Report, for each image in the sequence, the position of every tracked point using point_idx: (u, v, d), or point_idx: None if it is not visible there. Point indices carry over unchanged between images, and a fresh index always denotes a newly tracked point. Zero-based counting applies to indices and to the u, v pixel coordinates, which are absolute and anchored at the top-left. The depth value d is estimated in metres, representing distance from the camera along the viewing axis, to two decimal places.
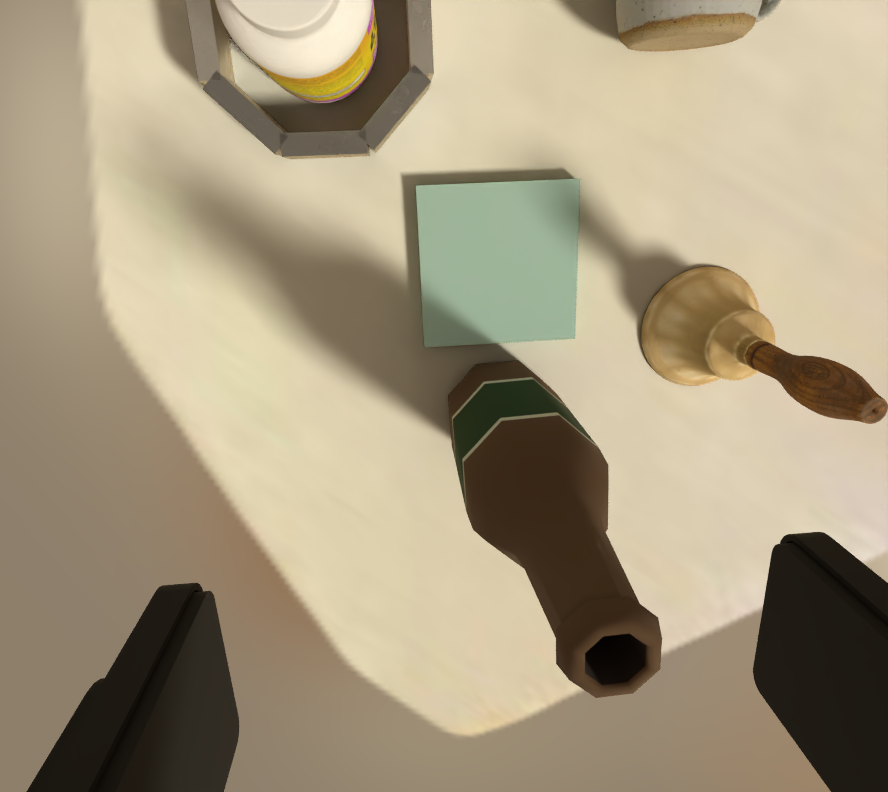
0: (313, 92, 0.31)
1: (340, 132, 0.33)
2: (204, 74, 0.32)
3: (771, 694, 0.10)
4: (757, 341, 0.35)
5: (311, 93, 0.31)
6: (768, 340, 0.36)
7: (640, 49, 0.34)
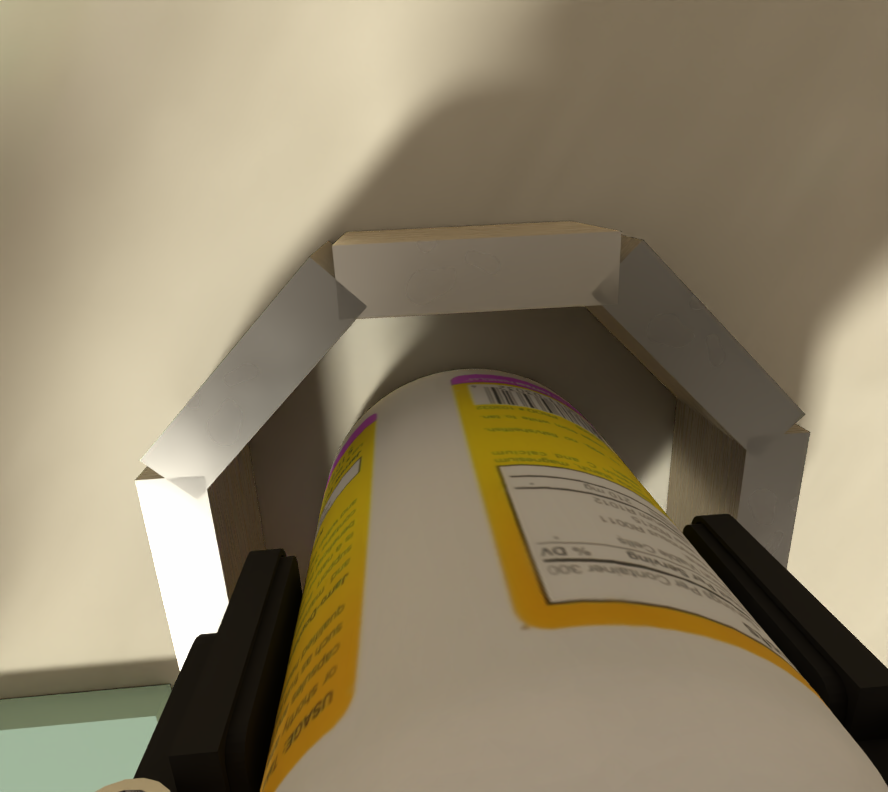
0: None
1: None
2: (352, 268, 0.10)
3: None
4: None
5: None
6: None
7: None
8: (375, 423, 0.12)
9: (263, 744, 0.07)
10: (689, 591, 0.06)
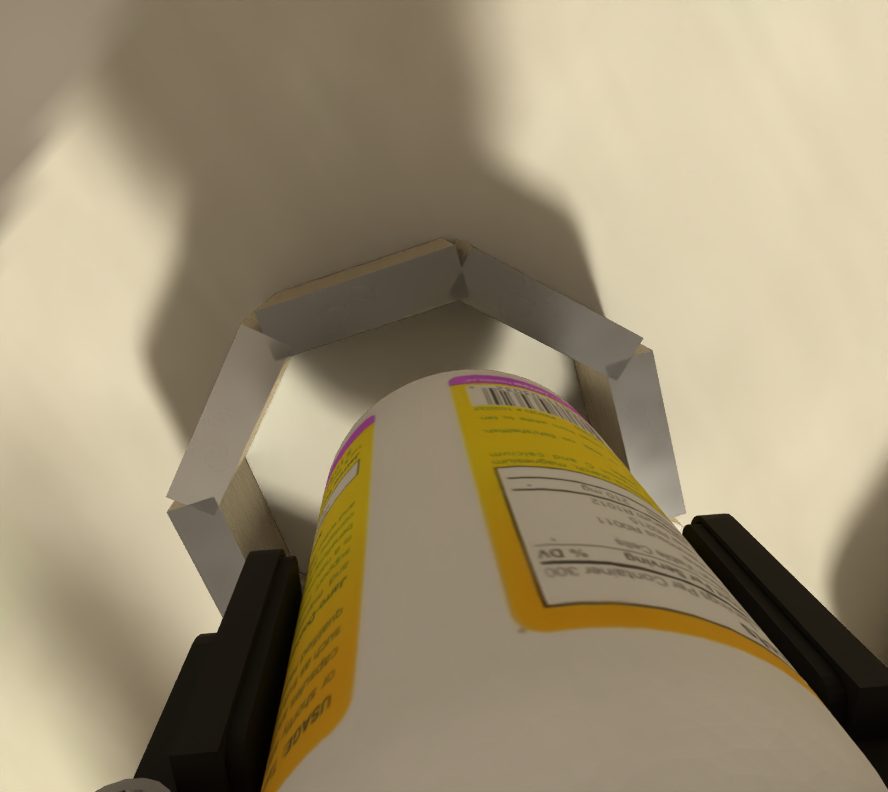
0: None
1: None
2: (185, 492, 0.15)
3: None
4: None
5: None
6: None
7: None
8: (373, 425, 0.12)
9: (263, 744, 0.07)
10: (686, 591, 0.06)
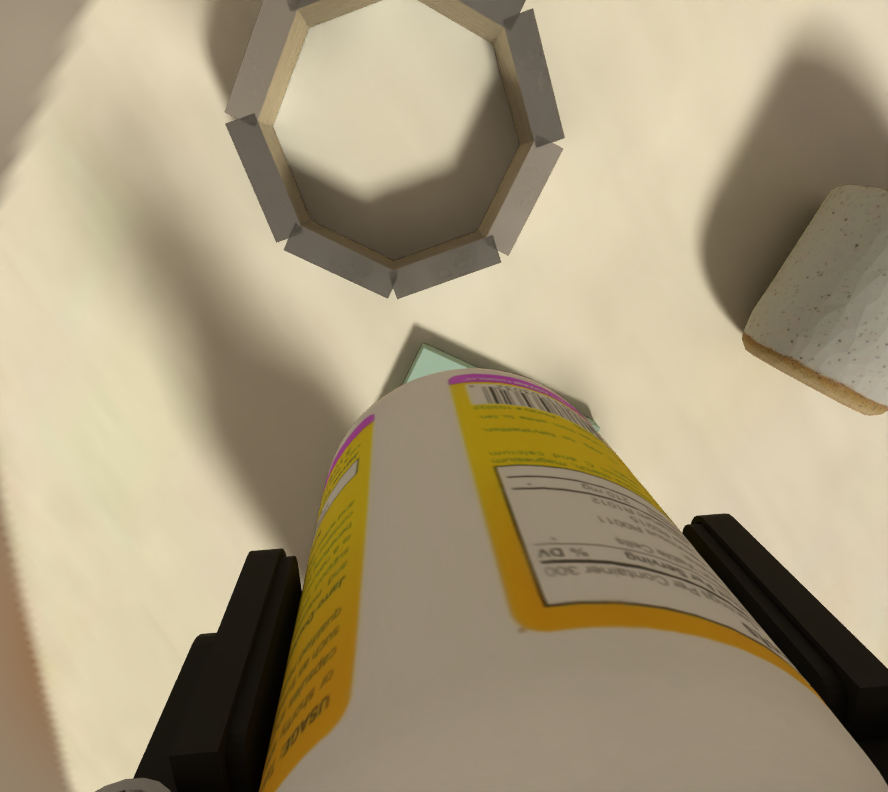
0: None
1: (368, 260, 0.25)
2: (236, 109, 0.23)
3: None
4: None
5: None
6: None
7: None
8: (373, 424, 0.12)
9: (263, 744, 0.07)
10: (687, 590, 0.06)
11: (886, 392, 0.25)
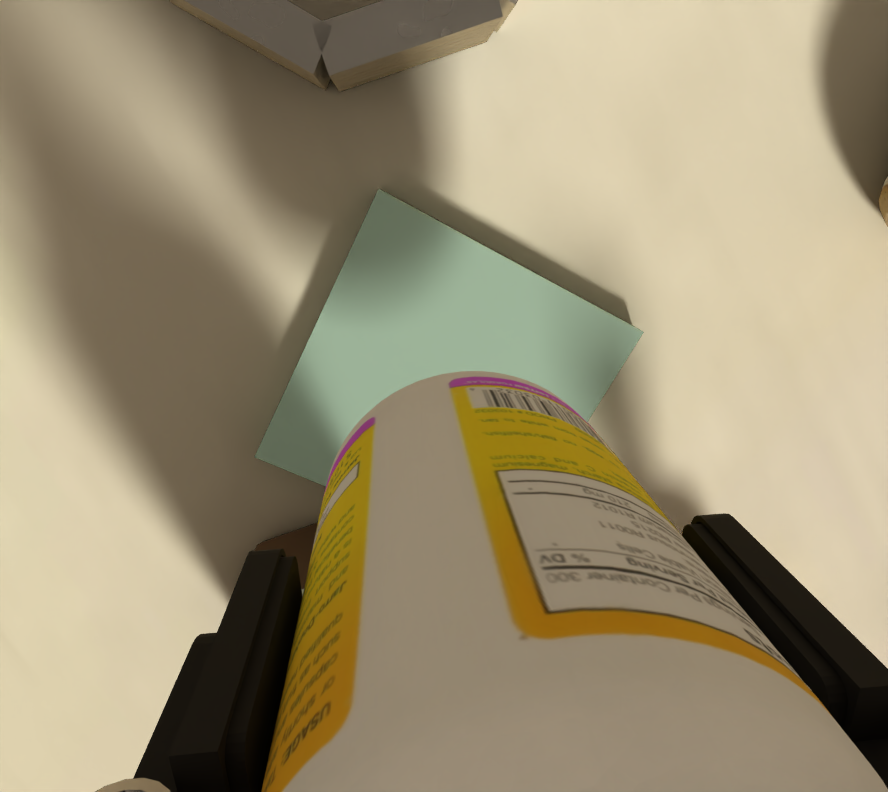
0: None
1: None
2: None
3: None
4: None
5: None
6: None
7: None
8: (373, 427, 0.12)
9: (263, 744, 0.07)
10: (689, 596, 0.06)
11: None
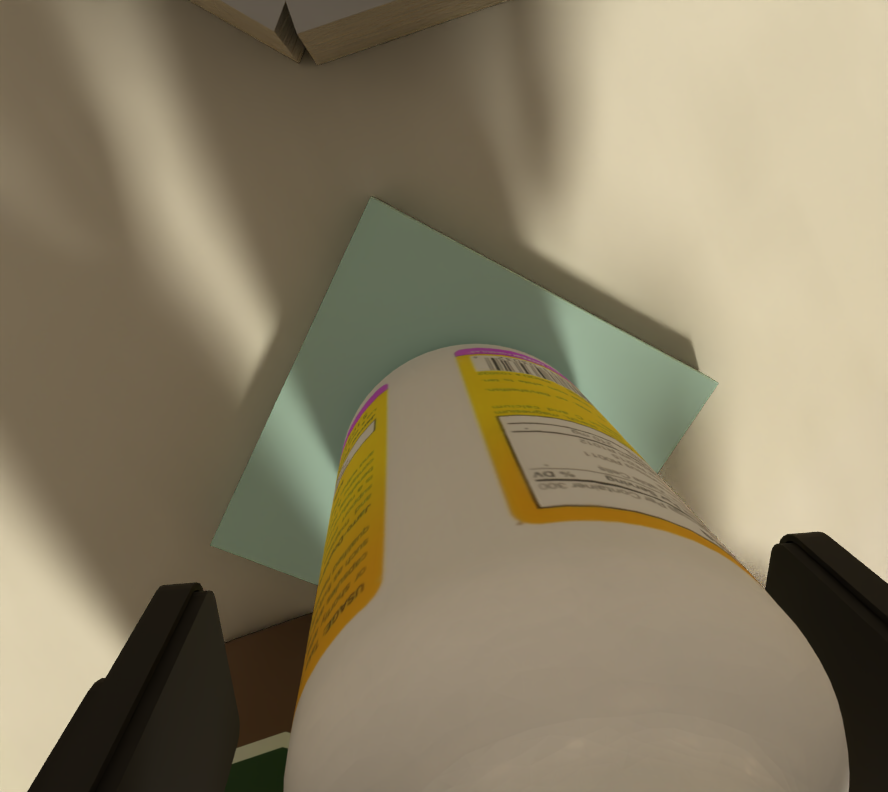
0: None
1: None
2: None
3: None
4: None
5: None
6: None
7: None
8: (387, 391, 0.13)
9: None
10: (655, 504, 0.08)
11: None
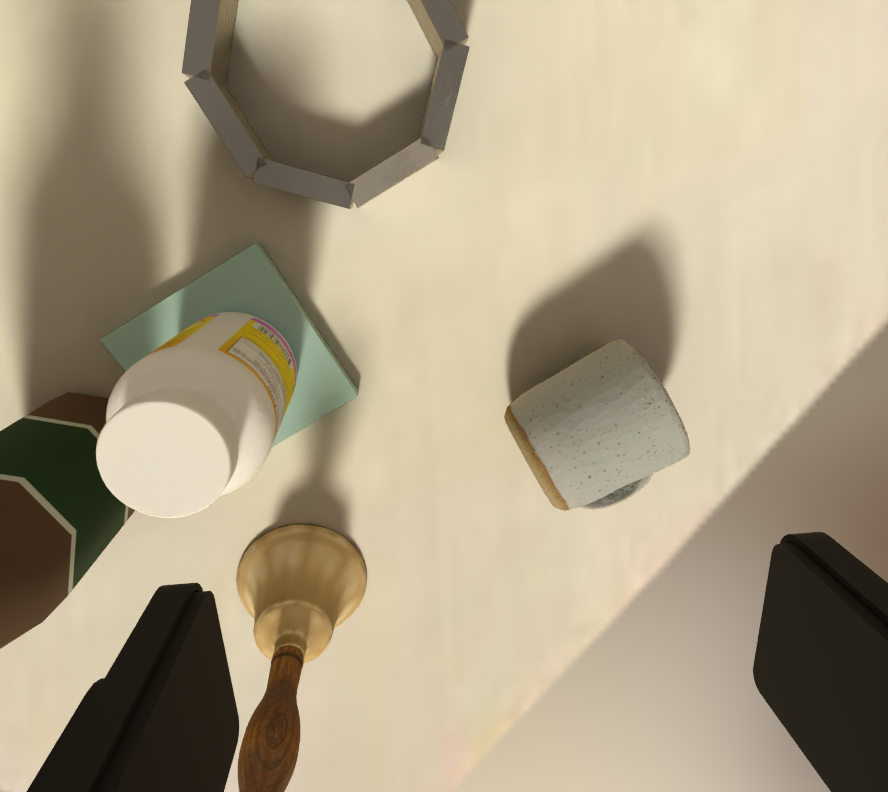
0: None
1: (248, 137, 0.29)
2: None
3: (771, 694, 0.10)
4: (299, 648, 0.33)
5: None
6: (311, 652, 0.35)
7: None
8: (216, 316, 0.31)
9: None
10: (260, 373, 0.26)
11: (568, 489, 0.32)
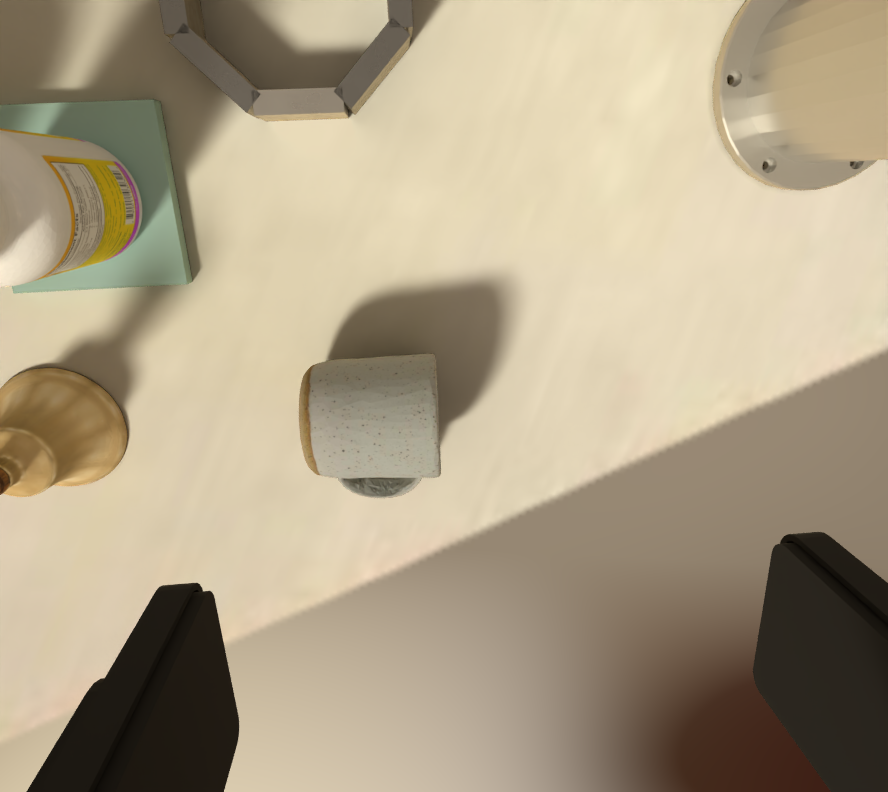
0: None
1: (182, 1, 0.30)
2: None
3: (771, 694, 0.10)
4: (9, 474, 0.33)
5: None
6: (23, 488, 0.35)
7: None
8: (80, 140, 0.31)
9: None
10: (76, 199, 0.27)
11: (321, 453, 0.34)
